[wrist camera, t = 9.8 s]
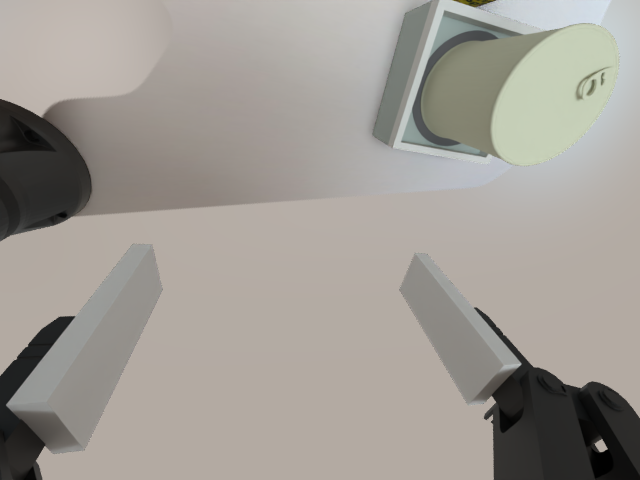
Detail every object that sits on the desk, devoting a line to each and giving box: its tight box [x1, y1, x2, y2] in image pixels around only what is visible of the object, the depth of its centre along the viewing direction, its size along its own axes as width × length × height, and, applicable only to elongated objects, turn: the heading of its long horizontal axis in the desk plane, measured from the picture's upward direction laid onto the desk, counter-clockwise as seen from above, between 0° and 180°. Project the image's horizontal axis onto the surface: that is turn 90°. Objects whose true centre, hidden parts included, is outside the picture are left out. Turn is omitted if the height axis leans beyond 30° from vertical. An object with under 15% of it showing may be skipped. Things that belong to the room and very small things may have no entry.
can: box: [421, 23, 619, 166], centre depth 23 cm, size 9×9×12 cm
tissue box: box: [373, 0, 546, 164], centre depth 30 cm, size 13×13×8 cm
